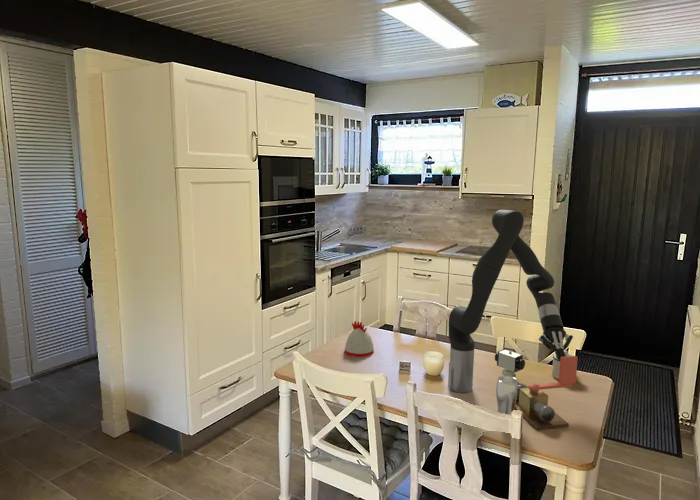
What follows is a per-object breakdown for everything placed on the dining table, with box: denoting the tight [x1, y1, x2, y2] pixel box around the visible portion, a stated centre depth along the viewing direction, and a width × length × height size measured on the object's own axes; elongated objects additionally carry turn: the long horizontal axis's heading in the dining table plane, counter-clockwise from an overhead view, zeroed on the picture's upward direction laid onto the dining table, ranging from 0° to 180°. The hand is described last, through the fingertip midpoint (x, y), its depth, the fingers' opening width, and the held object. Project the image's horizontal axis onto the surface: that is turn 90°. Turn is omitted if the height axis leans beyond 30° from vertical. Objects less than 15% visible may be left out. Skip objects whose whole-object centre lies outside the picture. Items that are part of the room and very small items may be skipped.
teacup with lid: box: [551, 349, 574, 381], centre depth 205 cm, size 12×9×12 cm
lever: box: [528, 355, 579, 392], centre depth 173 cm, size 18×4×11 cm, turn 100°
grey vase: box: [495, 375, 519, 414], centre depth 168 cm, size 7×7×15 cm
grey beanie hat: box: [344, 320, 375, 358], centre depth 231 cm, size 14×14×15 cm
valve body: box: [514, 383, 570, 431], centre depth 174 cm, size 22×12×9 cm, turn 10°
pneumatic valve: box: [494, 349, 526, 379], centre depth 203 cm, size 6×12×12 cm, turn 40°
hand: (561, 359), depth 179 cm, fingers closed
